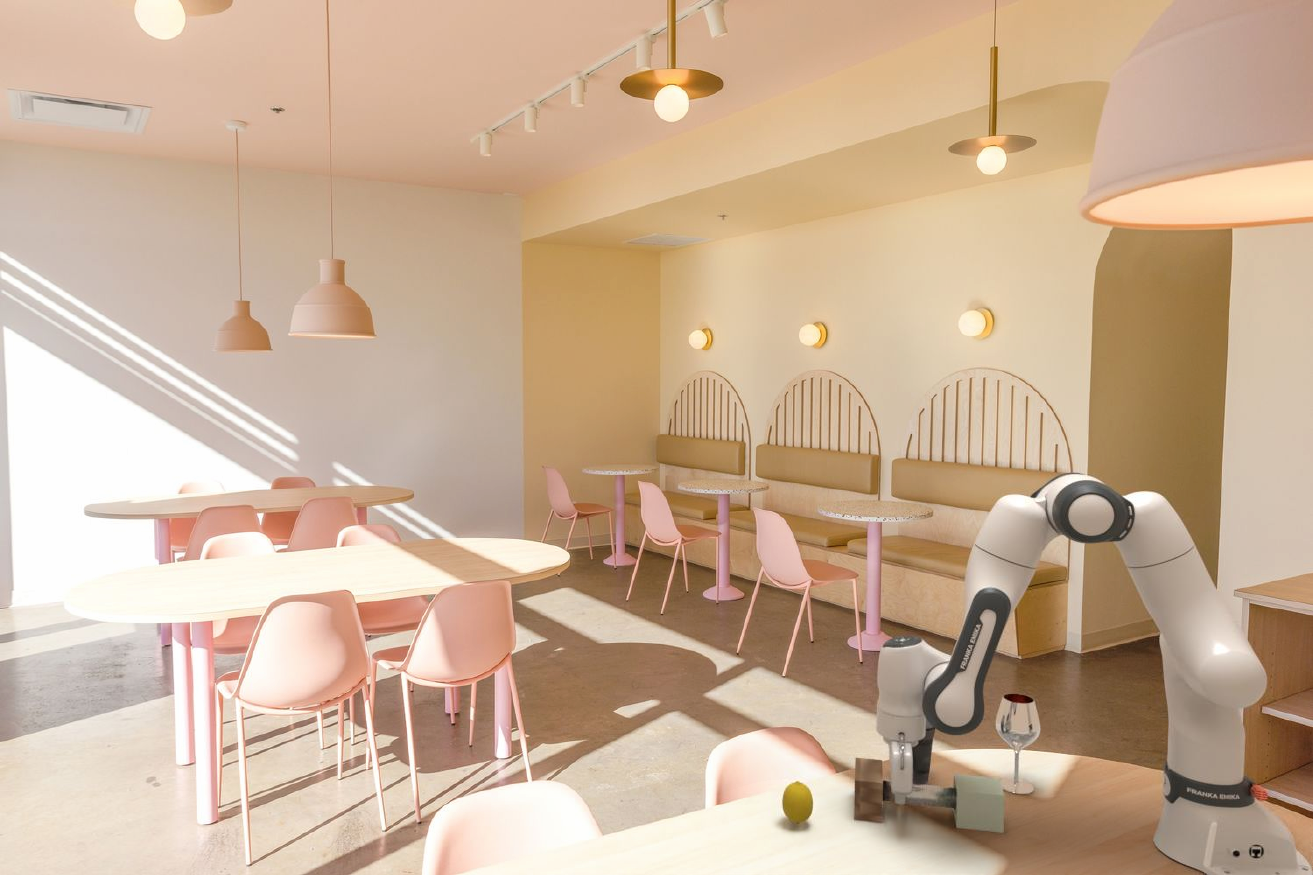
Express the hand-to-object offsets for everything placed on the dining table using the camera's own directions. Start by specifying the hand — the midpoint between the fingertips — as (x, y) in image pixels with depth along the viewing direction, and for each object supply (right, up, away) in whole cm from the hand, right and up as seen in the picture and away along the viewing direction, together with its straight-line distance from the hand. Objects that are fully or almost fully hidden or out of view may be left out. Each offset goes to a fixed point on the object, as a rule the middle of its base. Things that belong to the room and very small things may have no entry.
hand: (899, 795), depth 164 cm
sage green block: (+14, -3, -3) cm, 14 cm away
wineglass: (+26, -3, +10) cm, 28 cm away
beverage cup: (+7, -2, +14) cm, 16 cm away
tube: (+2, -1, 0) cm, 2 cm away
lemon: (-20, -4, -4) cm, 20 cm away
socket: (-5, -3, +2) cm, 6 cm away
